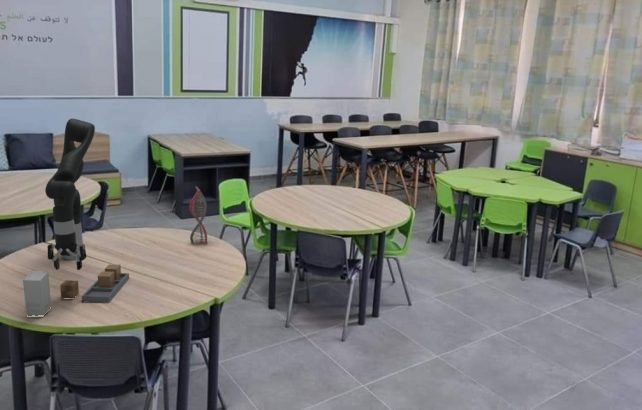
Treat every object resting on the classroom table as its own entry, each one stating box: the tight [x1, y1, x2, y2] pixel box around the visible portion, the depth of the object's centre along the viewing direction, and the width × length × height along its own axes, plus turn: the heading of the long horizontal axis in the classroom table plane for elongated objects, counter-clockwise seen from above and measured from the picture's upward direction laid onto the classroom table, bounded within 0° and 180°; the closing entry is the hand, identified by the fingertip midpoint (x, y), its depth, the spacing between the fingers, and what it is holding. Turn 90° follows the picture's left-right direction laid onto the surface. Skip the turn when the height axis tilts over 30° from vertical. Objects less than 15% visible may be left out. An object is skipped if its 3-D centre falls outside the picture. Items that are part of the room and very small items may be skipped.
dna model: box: [188, 186, 208, 245], centre depth 285 cm, size 9×9×30 cm
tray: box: [81, 263, 130, 303], centre depth 230 cm, size 11×24×7 cm, turn 0°
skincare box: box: [22, 270, 52, 316], centre depth 207 cm, size 8×7×16 cm
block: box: [59, 279, 80, 299], centre depth 223 cm, size 5×5×6 cm
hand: (68, 269), depth 220 cm, fingers open, 8 cm apart
